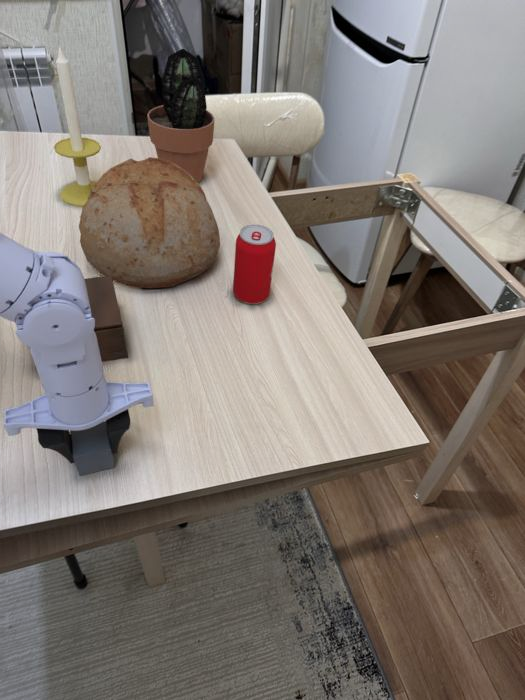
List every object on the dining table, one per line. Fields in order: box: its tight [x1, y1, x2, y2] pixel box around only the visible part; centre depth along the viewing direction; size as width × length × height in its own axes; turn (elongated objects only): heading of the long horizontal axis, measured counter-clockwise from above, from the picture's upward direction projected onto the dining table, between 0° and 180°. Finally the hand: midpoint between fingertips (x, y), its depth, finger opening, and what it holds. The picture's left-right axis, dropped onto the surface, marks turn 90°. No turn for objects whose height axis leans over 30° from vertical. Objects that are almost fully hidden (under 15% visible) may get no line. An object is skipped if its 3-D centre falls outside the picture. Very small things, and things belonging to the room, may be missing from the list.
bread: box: [78, 156, 221, 289], centre depth 83 cm, size 26×23×15 cm
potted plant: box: [146, 48, 216, 184], centre depth 100 cm, size 14×14×25 cm
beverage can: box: [232, 223, 277, 305], centre depth 78 cm, size 6×6×12 cm
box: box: [84, 275, 129, 363], centre depth 69 cm, size 12×11×7 cm
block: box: [69, 420, 116, 476], centre depth 56 cm, size 4×4×4 cm
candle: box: [53, 43, 102, 207], centre depth 90 cm, size 10×10×27 cm
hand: (93, 450), depth 57 cm, fingers closed on block, 4 cm apart
